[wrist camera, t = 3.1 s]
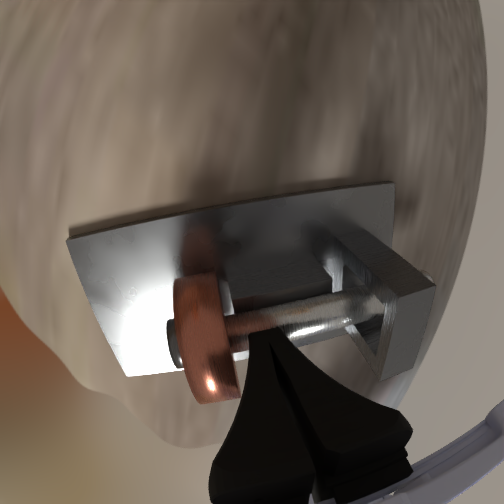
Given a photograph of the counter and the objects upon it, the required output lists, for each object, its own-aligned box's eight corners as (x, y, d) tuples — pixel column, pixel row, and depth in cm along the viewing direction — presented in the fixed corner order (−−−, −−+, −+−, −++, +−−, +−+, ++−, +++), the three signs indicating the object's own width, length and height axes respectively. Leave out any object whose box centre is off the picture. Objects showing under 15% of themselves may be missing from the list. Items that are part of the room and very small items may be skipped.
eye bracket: (378, 319, 20) (429, 383, 14) (127, 371, 18) (116, 455, 12) (390, 181, 16) (476, 221, 10) (68, 237, 14) (8, 310, 8)
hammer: (396, 298, 19) (447, 353, 13) (188, 347, 17) (191, 430, 12) (406, 214, 16) (477, 258, 11) (161, 259, 15) (146, 338, 9)
